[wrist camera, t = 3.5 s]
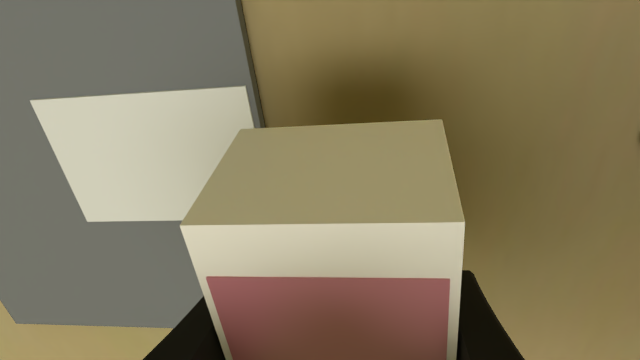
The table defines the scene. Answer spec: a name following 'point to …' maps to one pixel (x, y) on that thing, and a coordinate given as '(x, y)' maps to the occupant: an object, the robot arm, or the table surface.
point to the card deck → (332, 243)
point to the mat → (112, 151)
